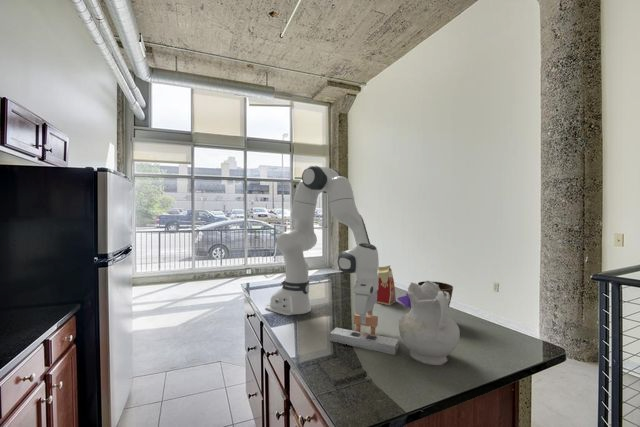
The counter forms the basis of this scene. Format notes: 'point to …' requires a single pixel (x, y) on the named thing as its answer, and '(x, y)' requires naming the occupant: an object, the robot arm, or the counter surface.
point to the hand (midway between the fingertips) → (367, 319)
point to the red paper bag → (385, 286)
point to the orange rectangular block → (371, 322)
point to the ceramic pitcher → (429, 325)
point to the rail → (364, 340)
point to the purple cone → (405, 300)
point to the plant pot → (442, 288)
